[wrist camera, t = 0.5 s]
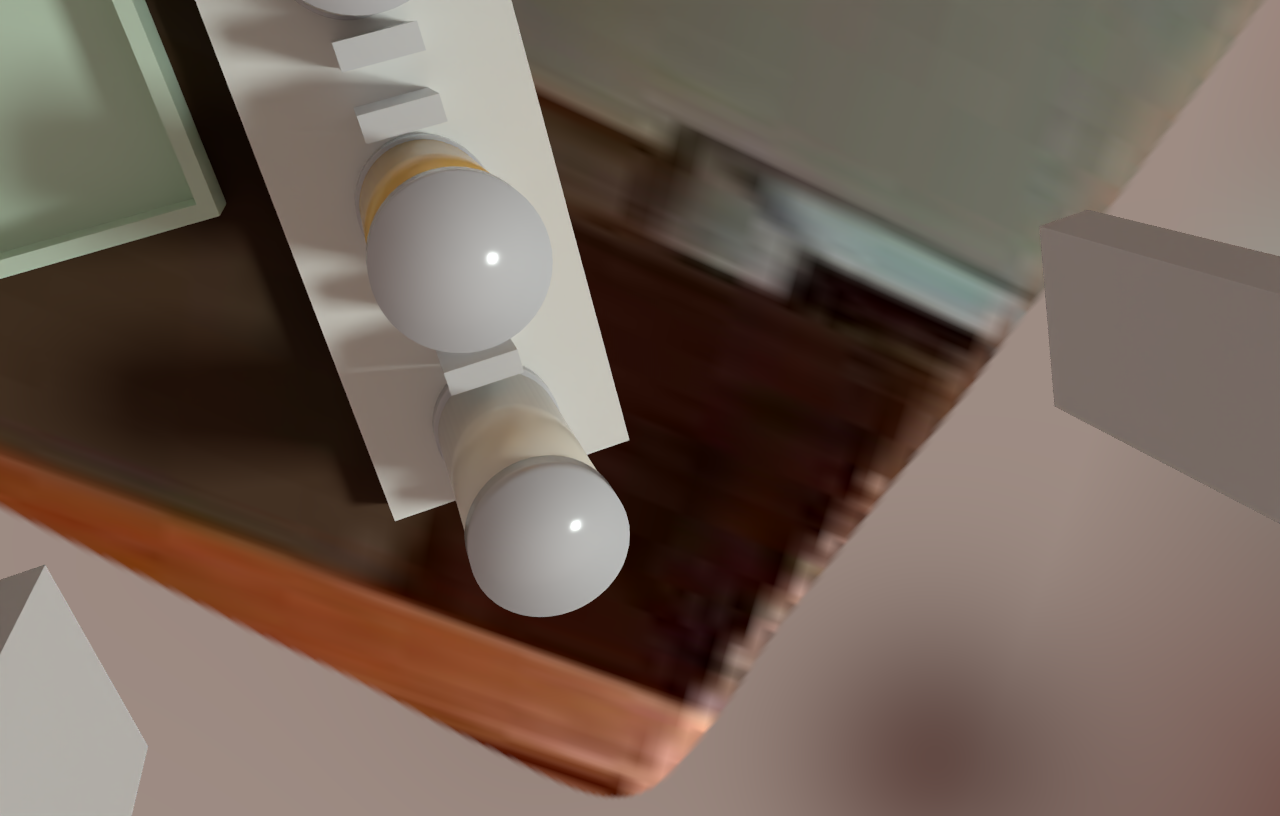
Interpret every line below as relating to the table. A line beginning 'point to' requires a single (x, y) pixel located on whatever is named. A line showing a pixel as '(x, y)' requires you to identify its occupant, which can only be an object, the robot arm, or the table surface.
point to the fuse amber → (450, 245)
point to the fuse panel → (327, 221)
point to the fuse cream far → (529, 498)
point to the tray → (92, 133)
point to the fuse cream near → (349, 7)
